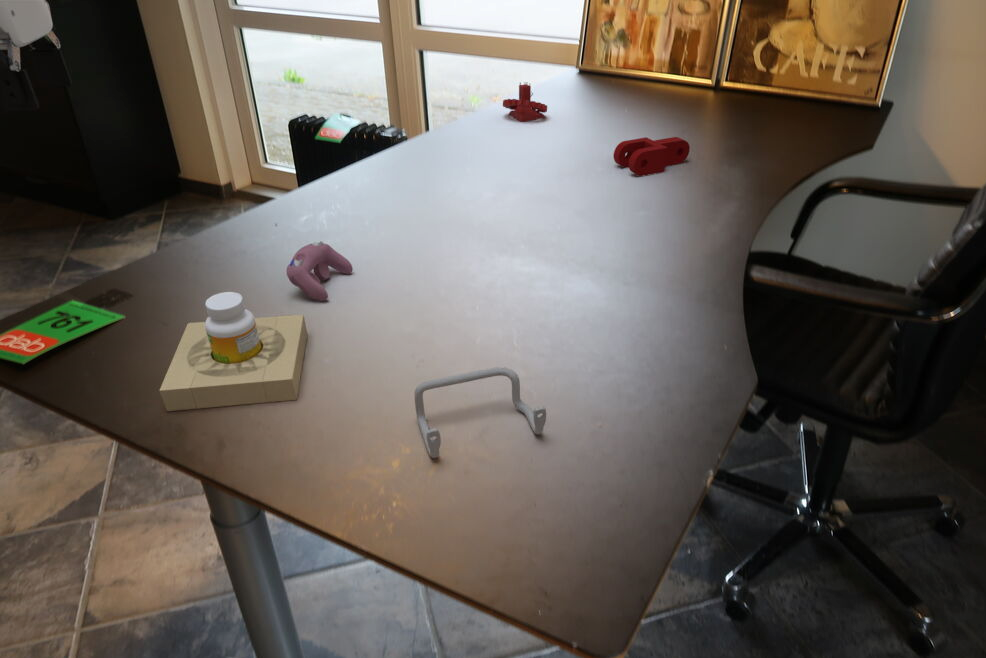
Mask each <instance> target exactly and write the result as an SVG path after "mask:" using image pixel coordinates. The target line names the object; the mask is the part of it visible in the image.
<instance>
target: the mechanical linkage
mask: <svg viewBox="0 0 986 658" xmlns="http://www.w3.org/2000/svg"><path fill="white" fill-rule="evenodd" d="M690 149H691V148H690V144H689V142H688V141H687V140H685V139H682V138H681V137H678V136H671V137H665V138H661V139H654V140H653V139H651V138H649V137H647V136H646V137H640V138H634V139H629V140H628V139H627V140H623V141H620V142H619V143H618V144H617V145H616V146H615V149H614V151H613V161H614V162H615V164H617V165H618V166H620V167H622V168H625V169H627V168H626V167H628V170H629V171H630V172H631V173H632V174H635V175H636V176H638V177H644V176H643V175H645V176H649V175H648V174H651V175H655V174H654V173H656V174H660V173H659V172H661V173H665V172H664V171H666V167H669V166H668V165H671V166H675V165H674V164H676V165H679V164H682V163H684V162H685V161H686V160H687V158H688V156H689V154H690ZM665 166H666V167H665Z"/></svg>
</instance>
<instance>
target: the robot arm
mask: <svg viewBox="0 0 986 658" xmlns="http://www.w3.org/2000/svg"><path fill="white" fill-rule="evenodd" d="M51 13H52V12H51V8H50V4H49V2H48V1H47V0H0V101H1V103H2V105H3V108H4V109H5V110H6V111H8V112H19V111H22V112H23V111H24V112H25V111H37V110H38V109H39V108H40V104H39V101H38V98H37V96H36V92H35V90H34V88H33V85H32V81H31V80H30V77H29V74H28V71H27V69H21V48H23V47H25V46H27V45H29V47H30V48H31V49H28V53H29V57H30V59H31V62H32V65H33V67H34V70H35V72H36V75H37V78H38V80H39V83H40V85H41V87H44V88H63V87H67V88H68V87H70V86H72V85H73V81H72V78H71V76H70V72H69V69H68V67H67V64H66V61H65V58H64V54H63V52H62V49H61V42H60V39H59V38H58V37H57V35H56V29H57V27H55V26H56V24H55V23H54V22H53V18H52V14H51ZM4 50H5V51H7V54H6V53H5V52H4Z"/></svg>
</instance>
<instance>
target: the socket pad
mask: <svg viewBox="0 0 986 658" xmlns="http://www.w3.org/2000/svg"><path fill="white" fill-rule="evenodd" d="M254 319H255V323H256V327H257V331H258V335H259V339H260V343H261V347H262V351H261V352H260V353H259V354H258V355H257V356H255V357H253V358H252V359H250V360H248V361H244V362H241V363H235V364H224V363H218V362H216V361H215V359H214V356H213V353H212V349H211V346H210V342H209V339H208V336H207V333H206V329H205V322H206V321H197V322H188V323H187V325H186V327H185V329H184V331H183V334H182V336H181V338H180V341H179V343H178V346H177V348H176V350H175V353H174V354H173V357H172V359H171V362H170V364H169V366H168V369H167V371H166V374H165V376H164V378H163V381H162V383H161V386H160V388H159V393H160V397H161V399H162V402H163V404H164V407H165V410H166V412H176V411H187V410H188V411H189V410H197V409H198V410H199V409H208V408H209V409H210V408H220V407H229V406H230V407H232V406H244V405H252V404H253V405H254V404H264V403H276V402H285V401H298V400H297V399H298V395H299V388H300V384H301V383H300V382H301V377H302V376H301V375H302V371H303V370H302V369H303V364H304V359H305V352H306V347H307V339H308V330H307V329H308V328H307V325H306V320H305V319H306V318H305V315H304V314H294V315H292V314H291V315H281V316H267V317H254Z"/></svg>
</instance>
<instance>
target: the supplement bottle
mask: <svg viewBox="0 0 986 658" xmlns="http://www.w3.org/2000/svg"><path fill="white" fill-rule="evenodd" d="M204 303H205V309H206V313H207V315H208V316H207V317H206V319H205V321H204V322H205V329H206V333H207V336H208V339H209V342H210V346H211V349H212V353H213V356H214V359H215V361H216V362H218V363H224V364H235V363H241V362H244V361H248V360H250V359H252V358H253V357H255V356H257V355H258V354H259V353H260V352H261V351H262V347H261V343H260V339H259V335H258V331H257V327H256V323H255V319H254V318H255V317H254V314H253V313H252V312H251V311H250V310H248V309H246V304H245V301H244V298H243V295H241V294H240V293H238V292H234V291H224V292H219V293H216V294H214V295H212V296H210V297H208V298H207V299H206V301H205V302H204Z"/></svg>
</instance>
